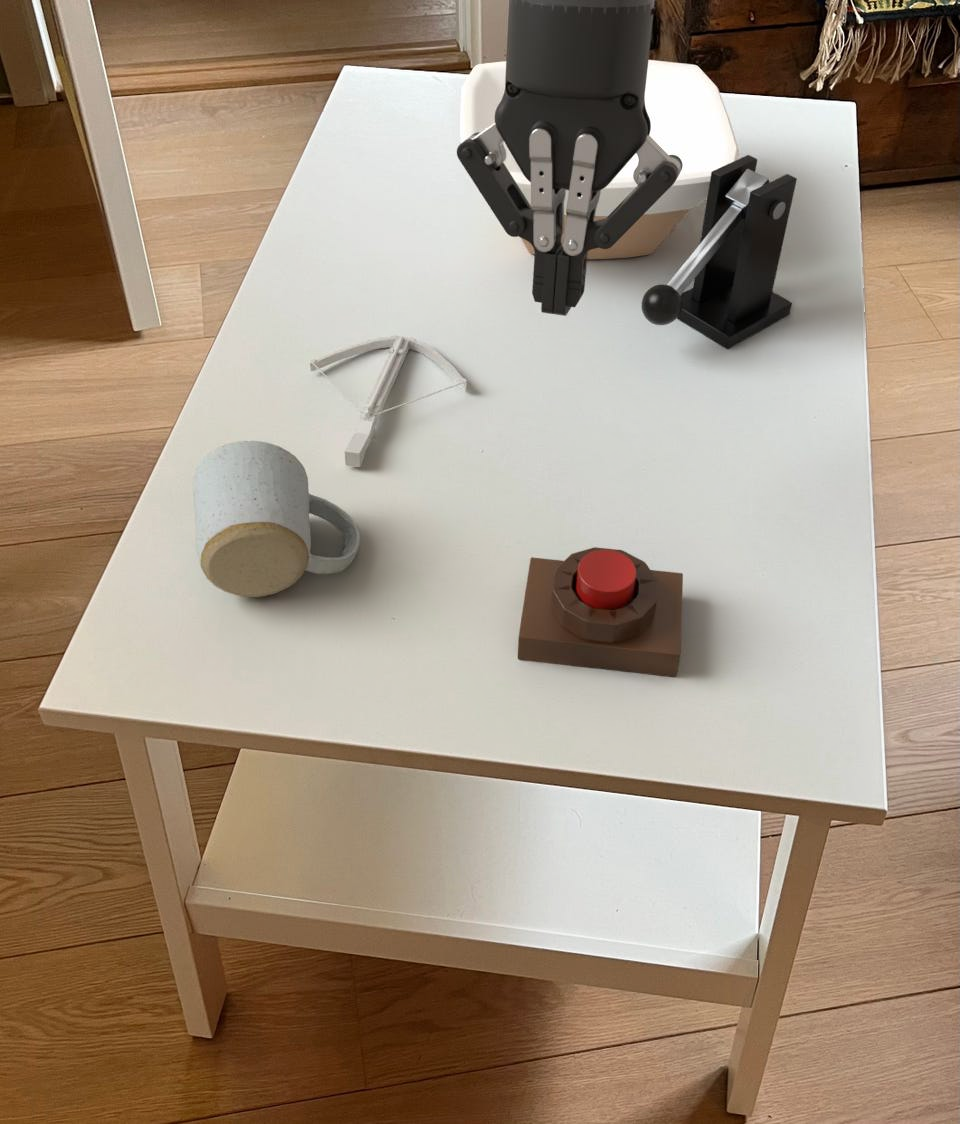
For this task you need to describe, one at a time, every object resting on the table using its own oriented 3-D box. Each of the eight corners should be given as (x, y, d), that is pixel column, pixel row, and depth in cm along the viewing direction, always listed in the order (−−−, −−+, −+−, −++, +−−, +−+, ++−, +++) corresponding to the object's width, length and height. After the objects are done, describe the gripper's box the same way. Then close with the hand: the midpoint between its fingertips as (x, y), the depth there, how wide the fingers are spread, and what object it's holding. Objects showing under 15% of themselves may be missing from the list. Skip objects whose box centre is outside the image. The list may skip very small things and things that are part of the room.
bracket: (727, 349, 98) (754, 209, 89) (666, 312, 102) (686, 173, 92) (790, 314, 102) (822, 175, 92) (728, 279, 105) (753, 143, 96)
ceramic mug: (205, 612, 77) (188, 528, 72) (201, 526, 83) (185, 442, 77) (367, 592, 79) (362, 508, 73) (353, 509, 84) (347, 425, 79)
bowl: (460, 296, 103) (459, 184, 95) (461, 160, 120) (460, 55, 112) (732, 297, 103) (753, 185, 96) (694, 160, 120) (709, 56, 113)
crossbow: (331, 343, 99) (329, 322, 98) (478, 362, 98) (479, 340, 96) (270, 456, 88) (267, 433, 86) (436, 479, 86) (436, 457, 85)
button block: (678, 595, 79) (686, 553, 76) (676, 677, 74) (684, 635, 71) (529, 579, 80) (531, 537, 77) (517, 659, 75) (519, 617, 72)
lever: (669, 339, 95) (657, 320, 92) (640, 321, 96) (628, 302, 94) (781, 201, 94) (772, 177, 91) (750, 185, 96) (741, 162, 93)
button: (634, 571, 75) (637, 552, 74) (632, 613, 73) (635, 594, 72) (578, 565, 76) (580, 546, 74) (573, 607, 73) (575, 588, 72)
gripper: (437, -12, 59) (431, 316, 69) (701, 10, 56) (657, 350, 66) (479, -29, 65) (469, 275, 75) (719, -10, 62) (677, 304, 72)
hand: (557, 309), depth 70 cm, fingers closed
